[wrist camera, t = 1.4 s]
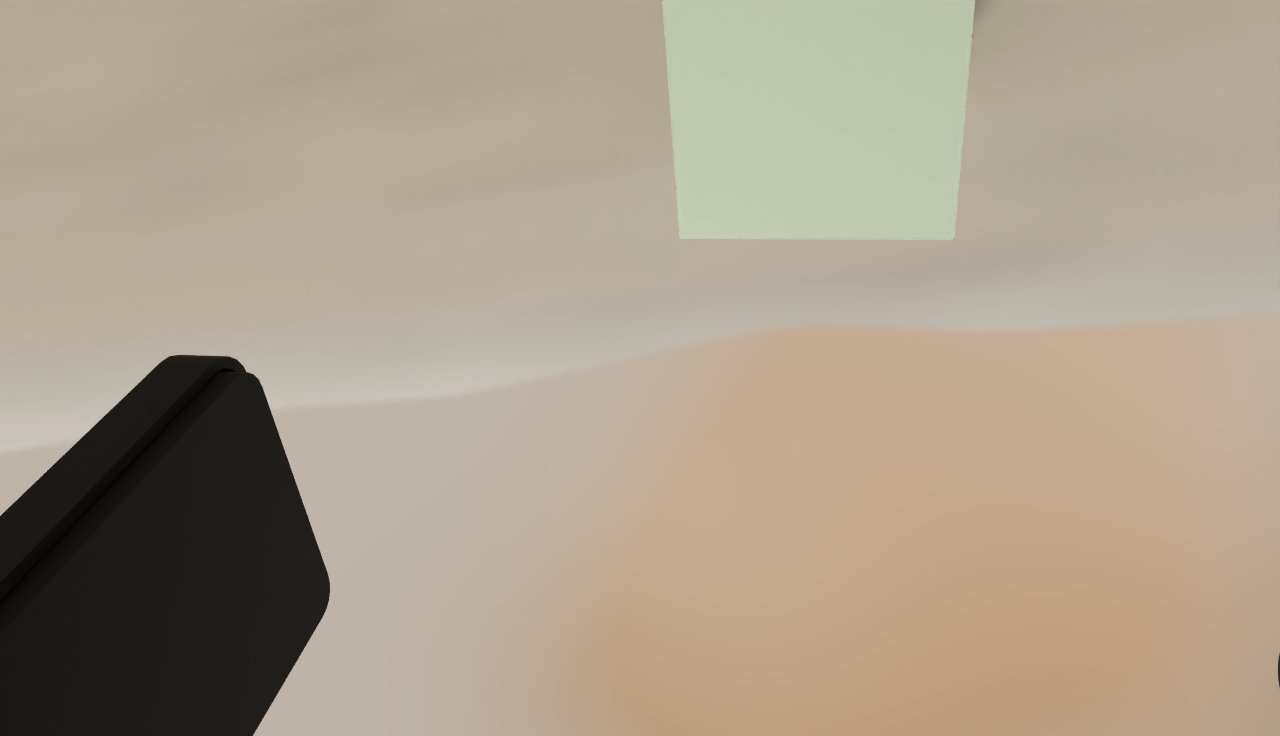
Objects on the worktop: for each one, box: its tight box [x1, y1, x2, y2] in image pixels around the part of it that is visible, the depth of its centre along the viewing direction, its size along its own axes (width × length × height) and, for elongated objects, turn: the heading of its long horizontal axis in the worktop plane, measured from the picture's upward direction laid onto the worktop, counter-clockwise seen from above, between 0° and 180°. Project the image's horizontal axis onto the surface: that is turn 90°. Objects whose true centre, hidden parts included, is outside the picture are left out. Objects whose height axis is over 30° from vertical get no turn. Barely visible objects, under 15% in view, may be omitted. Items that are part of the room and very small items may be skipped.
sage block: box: [662, 0, 975, 240], centre depth 21 cm, size 5×5×8 cm
